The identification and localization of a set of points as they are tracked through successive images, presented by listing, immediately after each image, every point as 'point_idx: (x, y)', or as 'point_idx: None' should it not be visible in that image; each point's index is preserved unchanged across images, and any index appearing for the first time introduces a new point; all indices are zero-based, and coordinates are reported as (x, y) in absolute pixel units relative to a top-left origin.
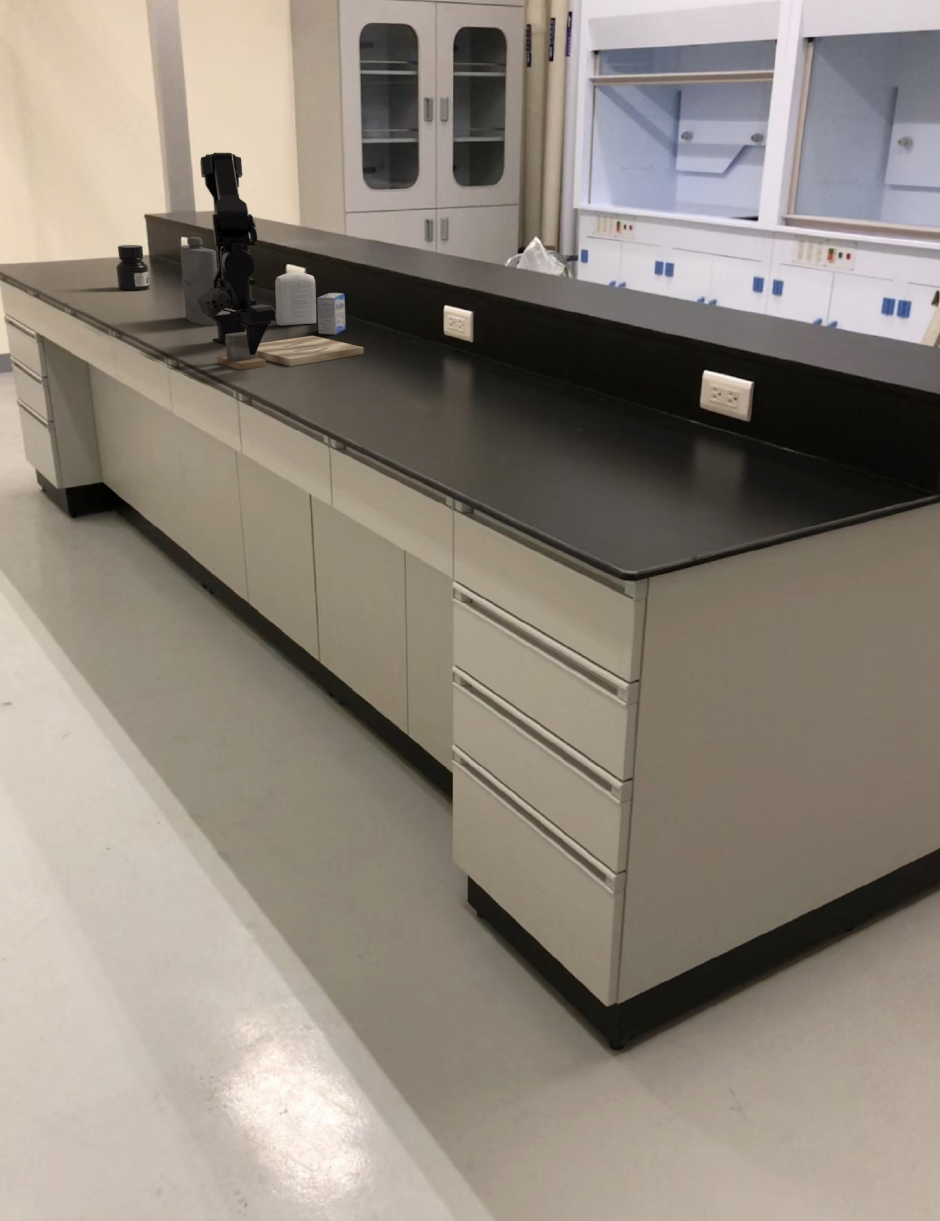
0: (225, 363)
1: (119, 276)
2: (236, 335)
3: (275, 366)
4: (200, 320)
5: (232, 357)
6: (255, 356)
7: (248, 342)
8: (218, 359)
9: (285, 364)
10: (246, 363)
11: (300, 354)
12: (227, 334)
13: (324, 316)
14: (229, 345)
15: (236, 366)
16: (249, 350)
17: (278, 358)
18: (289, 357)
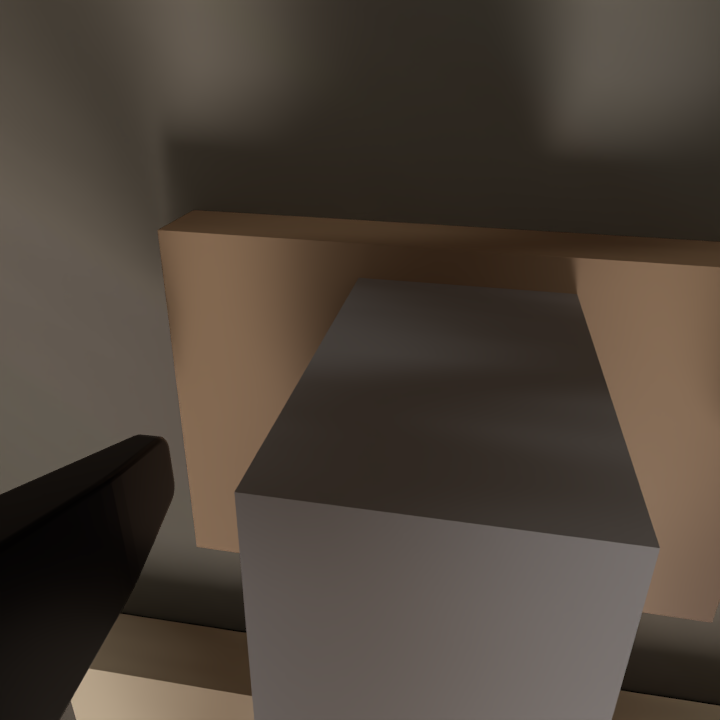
0: (569, 239)
1: None
2: (302, 603)
3: (157, 541)
4: None
5: (417, 296)
6: (645, 699)
7: (12, 520)
8: None
9: (156, 622)
10: (169, 305)
11: None
12: (584, 561)
13: None
14: (477, 384)
15: (293, 222)
16: (124, 458)
17: (243, 672)
18: (123, 701)
